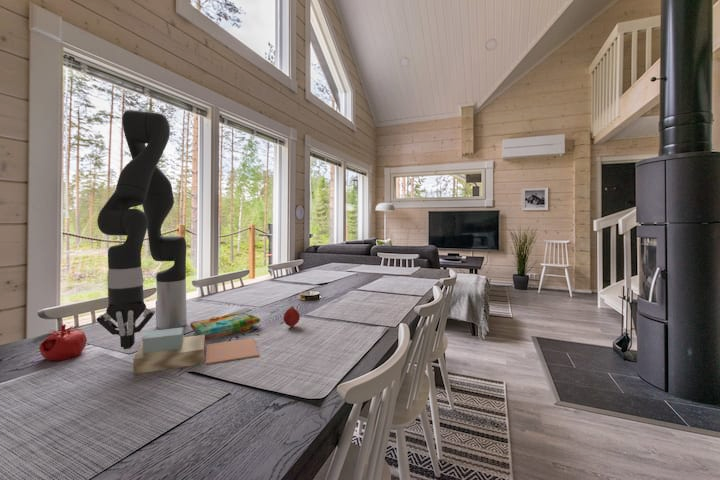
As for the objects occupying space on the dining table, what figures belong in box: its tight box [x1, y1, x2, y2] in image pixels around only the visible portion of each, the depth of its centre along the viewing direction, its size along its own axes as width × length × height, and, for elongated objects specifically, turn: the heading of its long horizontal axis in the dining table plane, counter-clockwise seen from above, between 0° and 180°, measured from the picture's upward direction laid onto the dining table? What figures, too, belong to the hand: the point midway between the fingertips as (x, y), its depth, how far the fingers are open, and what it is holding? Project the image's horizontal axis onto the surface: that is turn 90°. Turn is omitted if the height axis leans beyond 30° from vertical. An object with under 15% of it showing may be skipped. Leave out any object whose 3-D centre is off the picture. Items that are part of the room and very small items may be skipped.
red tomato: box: [38, 324, 88, 362], centre depth 90 cm, size 10×10×9 cm
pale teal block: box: [141, 326, 185, 354], centre depth 88 cm, size 9×6×4 cm, turn 115°
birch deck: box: [132, 334, 206, 375], centre depth 89 cm, size 16×12×4 cm
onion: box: [283, 305, 301, 328], centre depth 117 cm, size 6×6×8 cm
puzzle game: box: [189, 311, 261, 341], centre depth 113 cm, size 12×5×20 cm
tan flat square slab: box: [205, 337, 260, 366], centre depth 96 cm, size 14×14×1 cm
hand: (128, 347), depth 85 cm, fingers closed
